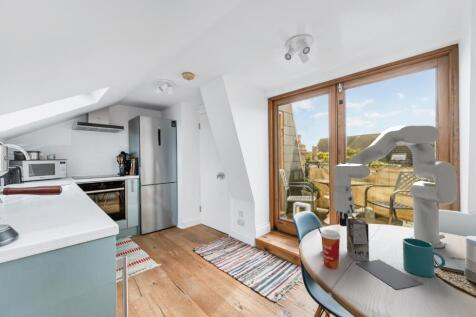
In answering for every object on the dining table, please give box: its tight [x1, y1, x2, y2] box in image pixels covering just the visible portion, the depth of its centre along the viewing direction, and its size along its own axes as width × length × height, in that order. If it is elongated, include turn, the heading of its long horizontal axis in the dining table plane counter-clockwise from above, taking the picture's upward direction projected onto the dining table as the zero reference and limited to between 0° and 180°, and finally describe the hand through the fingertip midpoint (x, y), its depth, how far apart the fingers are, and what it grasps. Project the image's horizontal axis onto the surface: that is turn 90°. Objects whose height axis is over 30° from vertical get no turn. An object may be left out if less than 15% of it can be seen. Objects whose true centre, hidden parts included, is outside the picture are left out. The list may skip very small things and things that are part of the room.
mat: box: [355, 259, 424, 290], centre depth 76 cm, size 12×17×1 cm
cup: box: [402, 237, 446, 278], centre depth 76 cm, size 9×12×11 cm
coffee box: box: [345, 217, 370, 262], centre depth 90 cm, size 9×6×16 cm
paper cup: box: [320, 229, 341, 270], centre depth 82 cm, size 8×8×14 cm
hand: (343, 225), depth 98 cm, fingers closed
